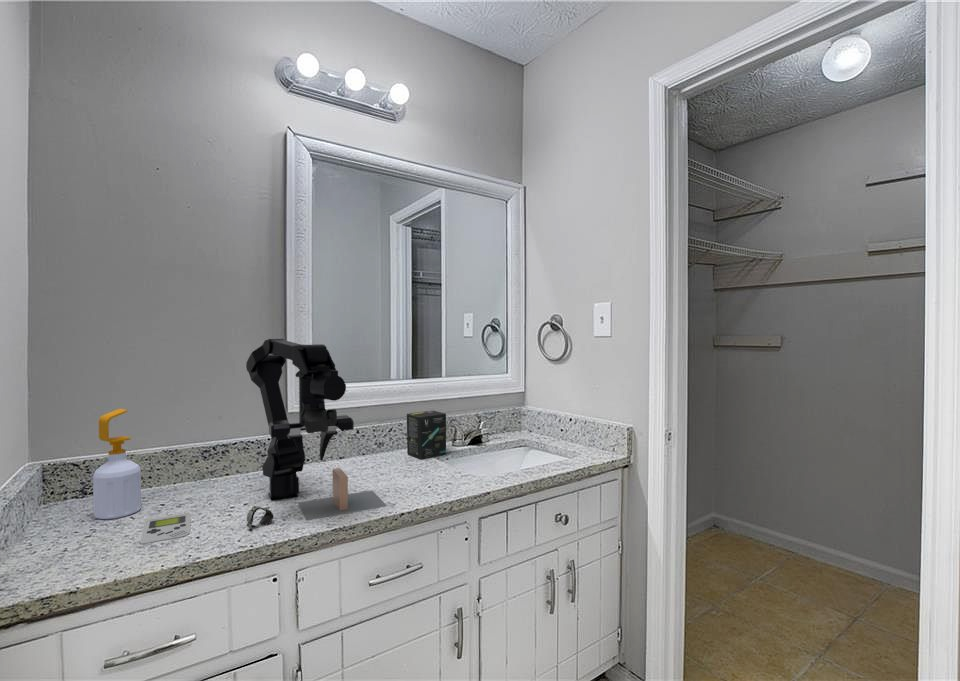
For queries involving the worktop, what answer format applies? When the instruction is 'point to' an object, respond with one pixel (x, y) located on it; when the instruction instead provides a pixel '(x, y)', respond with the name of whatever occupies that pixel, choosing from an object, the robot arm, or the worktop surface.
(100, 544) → the worktop surface
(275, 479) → the robot arm
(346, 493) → the tile
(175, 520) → the handheld gaming device
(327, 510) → the mat
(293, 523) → the worktop surface
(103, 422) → the soap bottle
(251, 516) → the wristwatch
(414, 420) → the tampon box
